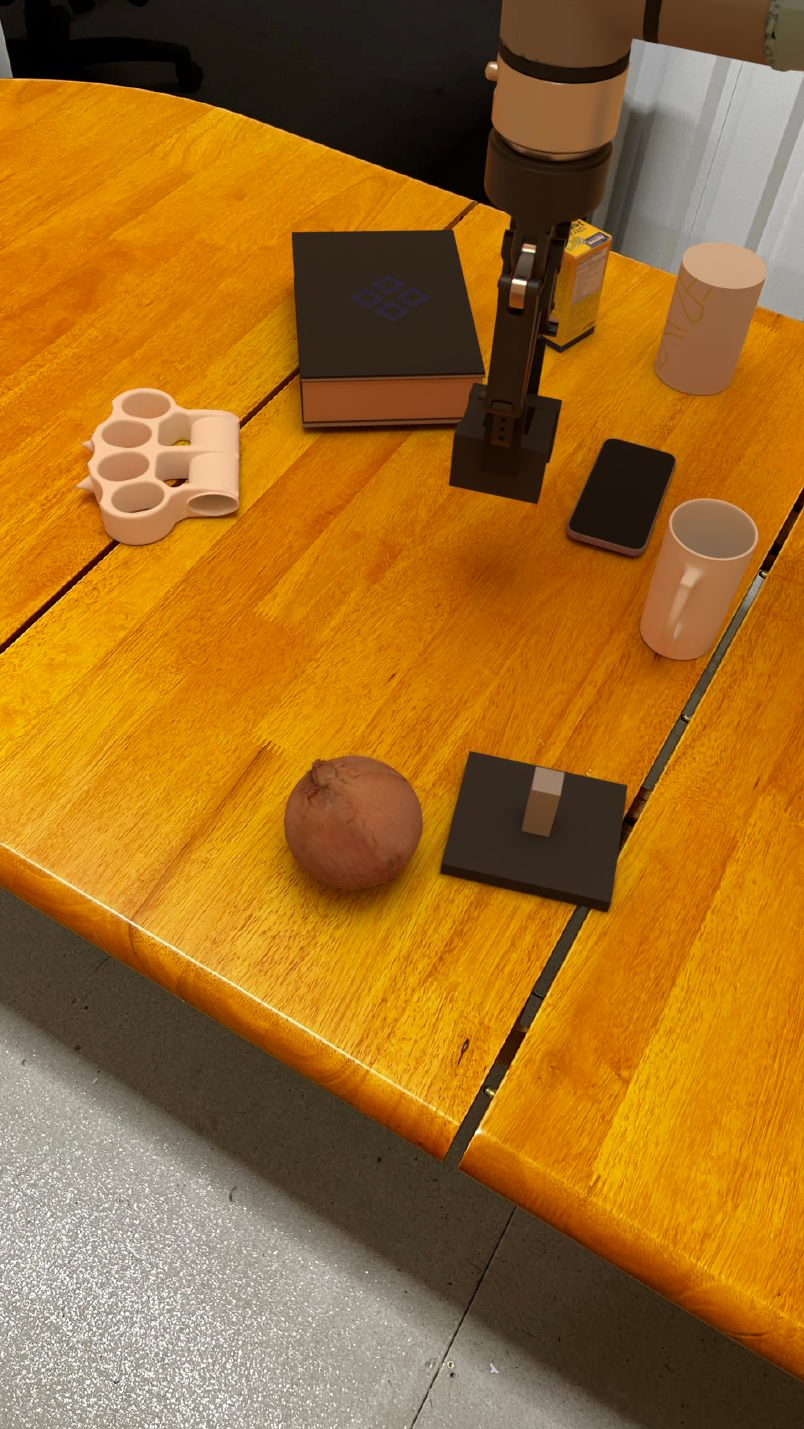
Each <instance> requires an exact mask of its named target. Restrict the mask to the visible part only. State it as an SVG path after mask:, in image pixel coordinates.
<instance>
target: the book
mask: <svg viewBox="0 0 804 1429" xmlns="http://www.w3.org/2000/svg"><path fill="white" fill-rule="evenodd" d="M291 248H292V264H293V265H292V266H293V295H294V312H295V326H296V327H295V328H296V343H297V344H296V345H297V358H298V359H297V360H298V377H299V393H300V409H301V426H302V429H308V428H309V429H310V428H312V429H313V428H347V427H378V426H379V427H381V426H414V425H415V426H417V425H419V426H420V425H449V424H450V425H451V424H454V425H455V424H458V422H459V421H462V419H463V416H464V413H465V411H466V408H467V405H468V400H469V393H470V391H471V388H472V385H473V383H480V384H483V382H484V379H486V375H487V374H486V367H485V364H484V358H483V355H482V351H481V346H480V341H479V337H478V333H477V328H476V323H475V319H474V314H473V311H472V305H471V302H470V298H469V293H468V287H467V284H466V279H465V275H464V270H463V266H462V262H461V257H460V252H459V249H458V244H457V240H456V235H455V230H454V229H422V230H421V229H415V230H413V229H412V230H410V229H409V230H346V231H345V230H341V231H334V230H333V231H332V230H331V231H292V232H291Z"/></svg>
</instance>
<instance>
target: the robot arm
mask: <svg viewBox="0 0 804 1429" xmlns="http://www.w3.org/2000/svg"><path fill="white" fill-rule="evenodd" d="M501 3H502V4H501V16H500V28H499V33H498V34H499V35H498V49H497V51H498V52H497V58H496V61H489V62H488V63H487V65H486V67H485V70H484V73H485V74H484V75H485V77H486V79H487V80H489V81H491V82H496V86H495V88H494V90H493V98H492V109H491V123H492V125H493V127H492V128H491V129H490V131H489V134H488V139H487V148H486V149H487V150H486V158H485V161H486V162H485V169H484V179H483V180H484V181H483V183H484V184H483V187H484V191H485V194H486V196H487V198H488V200H489V201H490V202H491V203H492V204H493V205H494V206H495V207H496V208H497V209H499V210H500V211H503V212H504V213H506V215H508V216H509V217H510V221H509V229H508V228H506V229H505V230H504V232H503V237H502V241H501V249H500V257H501V260H502V267H501V272H500V276H499V278H498V279H497V283H496V284H497V285H496V288H497V302H496V313H495V314H496V315H495V321H494V328H493V337H492V344H491V350H490V359H489V366H488V374H487V382H486V385H487V389H486V391H482V390H481V391H480V393H479V395H478V402H483V406H484V407H483V410H484V411H485V412H487V416H486V424H485V432H484V441H483V449H482V458H481V466H480V470H481V471H486V472H491V473H496V474H501V475H506V476H511V477H516V474H517V470H518V464H519V457H520V451H521V444H522V438H523V431H524V425H525V418H526V412H527V405H528V398H526V393H529V394H534V395H539V392H540V391H539V390H540V386H541V379H542V372H543V366H544V361H545V360H544V359H545V355H546V354H545V353H546V348H547V345H546V342H547V340H544V339H539V338H540V335H545V336H550V337H555V338H556V335H557V331H558V326H559V322H554V321H549V318H550V314H551V313H552V311H553V310H554V308H555V302H554V299H555V292H556V286H557V279H558V274H559V273H560V270H561V267H562V263H563V259H564V253H565V248H566V247H567V245H568V241H569V237H570V233H571V228H572V221H575V220H578V219H580V220H582V219H583V218H585V217H587V216H590V215H591V214H592V213H594V212H595V211H597V209H598V208H599V207H600V205H601V204H602V202H603V200H604V196H605V192H606V188H607V187H606V186H607V181H608V176H609V171H610V166H611V160H612V154H613V150H614V149H613V148H614V146H613V143H612V142H613V141H612V140H613V139H614V137H615V136H616V135H617V132H618V127H619V122H620V117H621V112H622V106H623V101H624V95H625V90H626V85H627V80H628V74H629V70H630V64H631V62H630V58H631V52H632V44H633V41H634V40H638V41H644V42H646V43H651V44H655V45H662V46H663V45H664V46H667V47H671V48H672V47H673V48H678V49H683V50H686V51H687V50H688V51H692V52H697V53H703V54H707V55H712V56H717V57H722V58H727V59H730V60H736V61H742V62H747V63H752V64H756V65H762V66H766V67H770V68H771V70H773V71H777V72H782V73H786V72H789V71H795V72H804V0H502V2H501Z"/></svg>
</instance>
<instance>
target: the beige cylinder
mask: <svg viewBox="0 0 804 1429" xmlns="http://www.w3.org/2000/svg"><path fill="white" fill-rule="evenodd" d="M767 276H768V266H767V263H766V262H765V261H764V259H763V258H761V257H760V255H758V254H757V253H755V252H753V250H750V249H748V248H746V247H745V246H744V247H743V246H741V245H738V244H733V243H729V242H722V241H721V242H720V241H710V242H709V241H708V242H707V241H706V242H701V243H697V244H694V245H693V246H690V247H689V248H687V249H686V250H685V251H684V252H683V255H682V257H681V261H680V265H679V269H678V273H677V277H676V280H675V285H674V288H673V292H672V297H671V300H670V303H669V304H670V305H669V308H668V312H667V316H666V319H665V324H664V326H663V331H662V335H661V338H660V342H659V346H658V350H657V353H656V357H655V362H654V372H655V374H656V376H657V378H658V379H659V380H660V381H661V382H662V383H663V384H664V385H666V386H667V387H668V388H671V389H673V390H675V391H677V392H680V393H683V394H688V395H691V396H692V395H693V396H710V395H715V394H719V393H721V392H723V391H724V390H726V389H727V388H728V387H730V385H731V384H732V381H733V378H734V376H735V373H736V370H737V367H738V363H739V360H740V356H741V354H742V352H743V348H744V345H745V342H746V339H747V335H748V332H749V330H750V326H751V324H752V320H753V318H754V314H755V312H756V309H757V305H758V302H759V299H760V297H761V294H762V290H763V287H764V284H765V282H766V278H767Z"/></svg>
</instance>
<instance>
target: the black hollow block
mask: <svg viewBox="0 0 804 1429" xmlns="http://www.w3.org/2000/svg"><path fill="white" fill-rule="evenodd" d="M486 389H487V384H484V383H482V384H480V383H473V385H472V388H471V391H470V393H469V400H468V405H467V408H466V411H465V413H464V416H463V419H462V421H459V422H458V423H457V425H456V427H455V431H454V432H453V441H452V450H451V458H450V459H451V461H450V471H449V481H448V487H453V488H458V489H462V490H467V491H472V492H477V493H482V494H486V495H492V496H496V497H501V498H505V499H510V500H515V501H520V502H523V503H528V504H532V505H533V504H534V505H538V504H539V499H540V497H541V493H542V489H543V484H544V480H545V479H544V478H545V473H546V467H547V464H550V462H551V459H552V455H553V451H554V446H555V440H556V435H557V432H558V427H559V426H558V425H559V420H560V415H561V409H562V404H563V400H562V399H559V398H554V397H551V396H550V397H549V396H545V395H539V394H538V395H534V394H529V393H526V398H528V405H527V412H526V418H525V425H524V431H523V438H522V444H521V451H520V457H519V464H518V470H517V474H516V477H511V476H506V475H501V474H496V473H491V472H486V471H481V470H480V466H481V458H482V449H483V441H484V432H485V424H486V416H487V412H485V411H484V410H483V407H484V406H483V402H478V395H479V393H480V391H481V390H482V391H486Z"/></svg>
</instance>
